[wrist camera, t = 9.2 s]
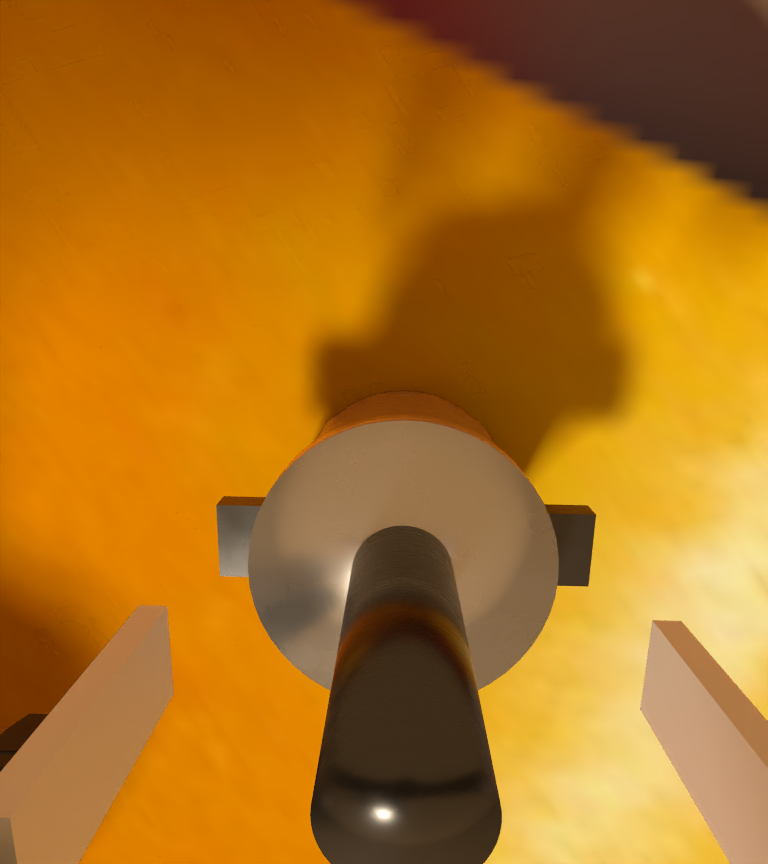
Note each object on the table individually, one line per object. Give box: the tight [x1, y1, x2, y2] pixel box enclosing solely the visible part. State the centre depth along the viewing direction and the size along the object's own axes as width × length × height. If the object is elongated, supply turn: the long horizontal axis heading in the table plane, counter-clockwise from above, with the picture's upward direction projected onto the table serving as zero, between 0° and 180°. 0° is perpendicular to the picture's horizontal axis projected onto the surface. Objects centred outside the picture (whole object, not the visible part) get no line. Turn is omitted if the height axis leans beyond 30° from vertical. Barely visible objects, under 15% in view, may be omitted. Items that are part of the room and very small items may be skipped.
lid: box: [248, 414, 559, 864], centre depth 16 cm, size 11×11×11 cm
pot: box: [217, 391, 596, 586], centre depth 26 cm, size 15×10×8 cm
